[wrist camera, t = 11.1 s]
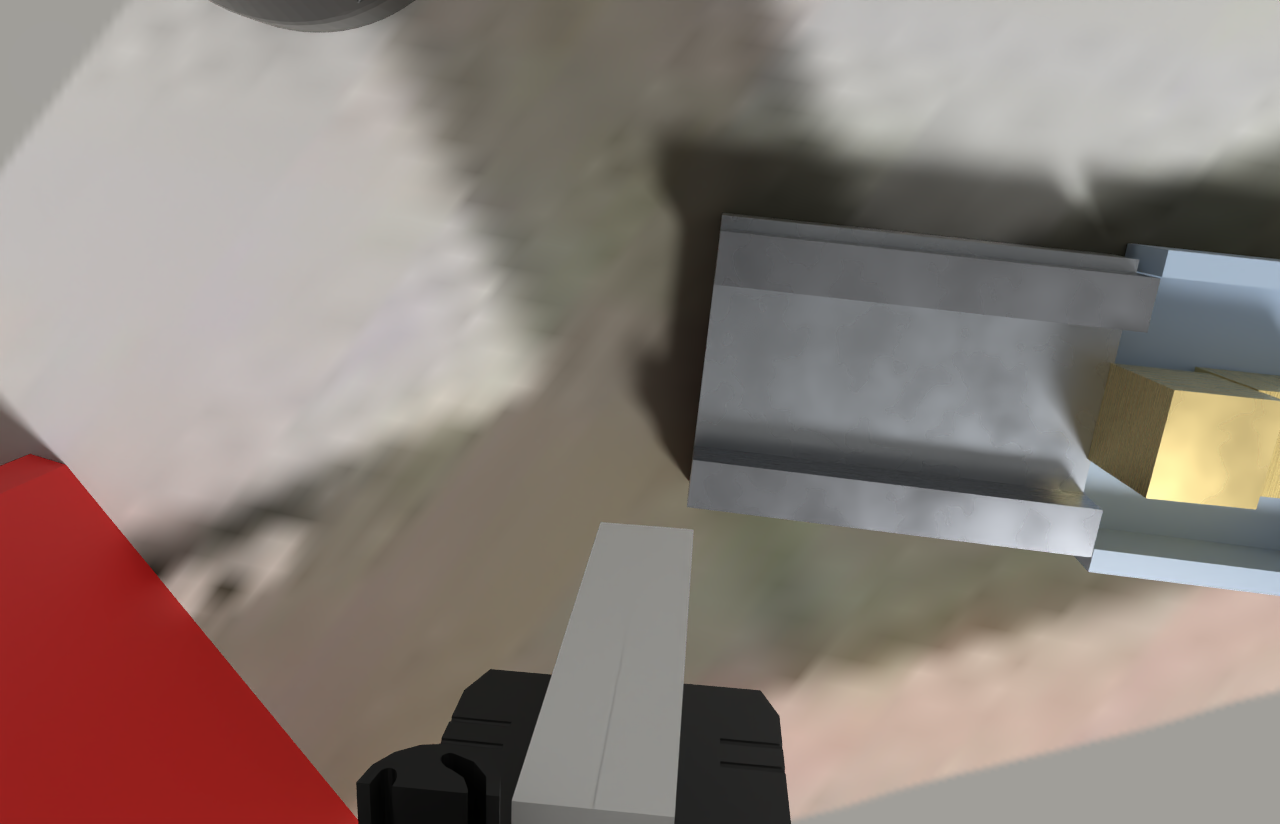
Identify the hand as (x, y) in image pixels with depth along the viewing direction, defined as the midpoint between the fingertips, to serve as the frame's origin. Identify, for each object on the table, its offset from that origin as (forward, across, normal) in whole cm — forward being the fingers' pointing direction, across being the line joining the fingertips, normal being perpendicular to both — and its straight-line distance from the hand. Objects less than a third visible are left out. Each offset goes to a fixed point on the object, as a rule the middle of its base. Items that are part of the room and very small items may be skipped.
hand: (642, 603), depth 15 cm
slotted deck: (+26, +9, -2) cm, 27 cm away
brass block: (+23, +19, -2) cm, 30 cm away
